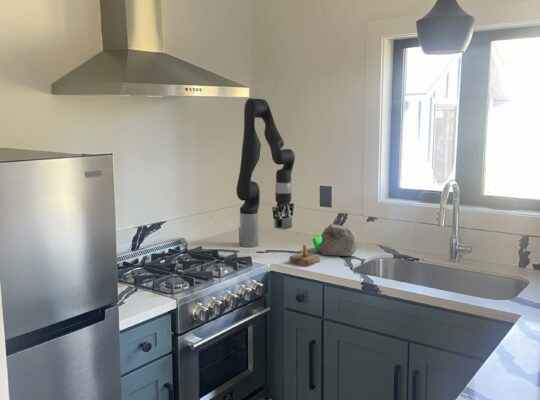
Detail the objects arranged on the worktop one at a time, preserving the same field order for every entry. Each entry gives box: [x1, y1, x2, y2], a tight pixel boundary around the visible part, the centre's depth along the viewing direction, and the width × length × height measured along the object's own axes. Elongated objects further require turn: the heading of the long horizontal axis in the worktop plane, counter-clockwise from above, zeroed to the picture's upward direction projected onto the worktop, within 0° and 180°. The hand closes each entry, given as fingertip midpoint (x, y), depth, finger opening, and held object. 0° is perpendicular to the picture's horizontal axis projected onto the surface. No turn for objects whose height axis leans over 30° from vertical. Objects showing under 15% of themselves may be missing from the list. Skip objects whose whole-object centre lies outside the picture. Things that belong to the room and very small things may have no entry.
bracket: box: [312, 236, 322, 253], centre depth 276 cm, size 20×10×7 cm, turn 118°
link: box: [273, 215, 293, 231], centre depth 260 cm, size 6×6×5 cm
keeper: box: [289, 244, 321, 267], centre depth 250 cm, size 10×10×8 cm
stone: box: [318, 223, 359, 257], centre depth 261 cm, size 19×7×15 cm, turn 70°
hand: (283, 226), depth 260 cm, fingers closed on link, 6 cm apart
